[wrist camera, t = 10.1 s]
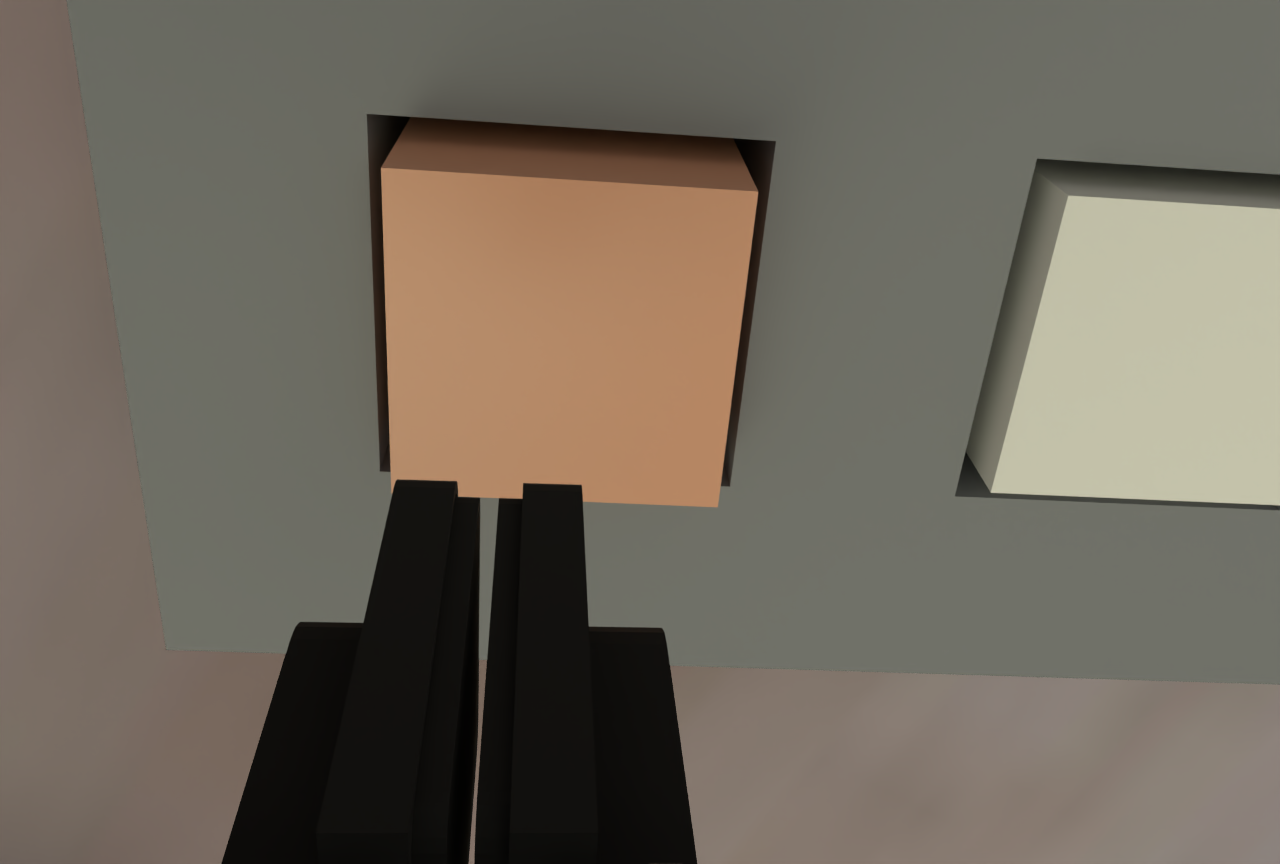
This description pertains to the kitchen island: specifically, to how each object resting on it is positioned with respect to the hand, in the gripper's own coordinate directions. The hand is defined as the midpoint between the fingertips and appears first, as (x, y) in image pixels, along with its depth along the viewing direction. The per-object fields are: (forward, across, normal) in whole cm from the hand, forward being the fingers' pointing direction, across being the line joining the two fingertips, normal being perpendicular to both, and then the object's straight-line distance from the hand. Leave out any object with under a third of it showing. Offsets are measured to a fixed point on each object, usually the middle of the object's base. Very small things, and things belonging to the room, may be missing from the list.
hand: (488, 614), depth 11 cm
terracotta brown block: (+12, -1, +1) cm, 12 cm away
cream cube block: (+13, -11, +1) cm, 17 cm away
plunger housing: (+14, -6, +1) cm, 15 cm away
